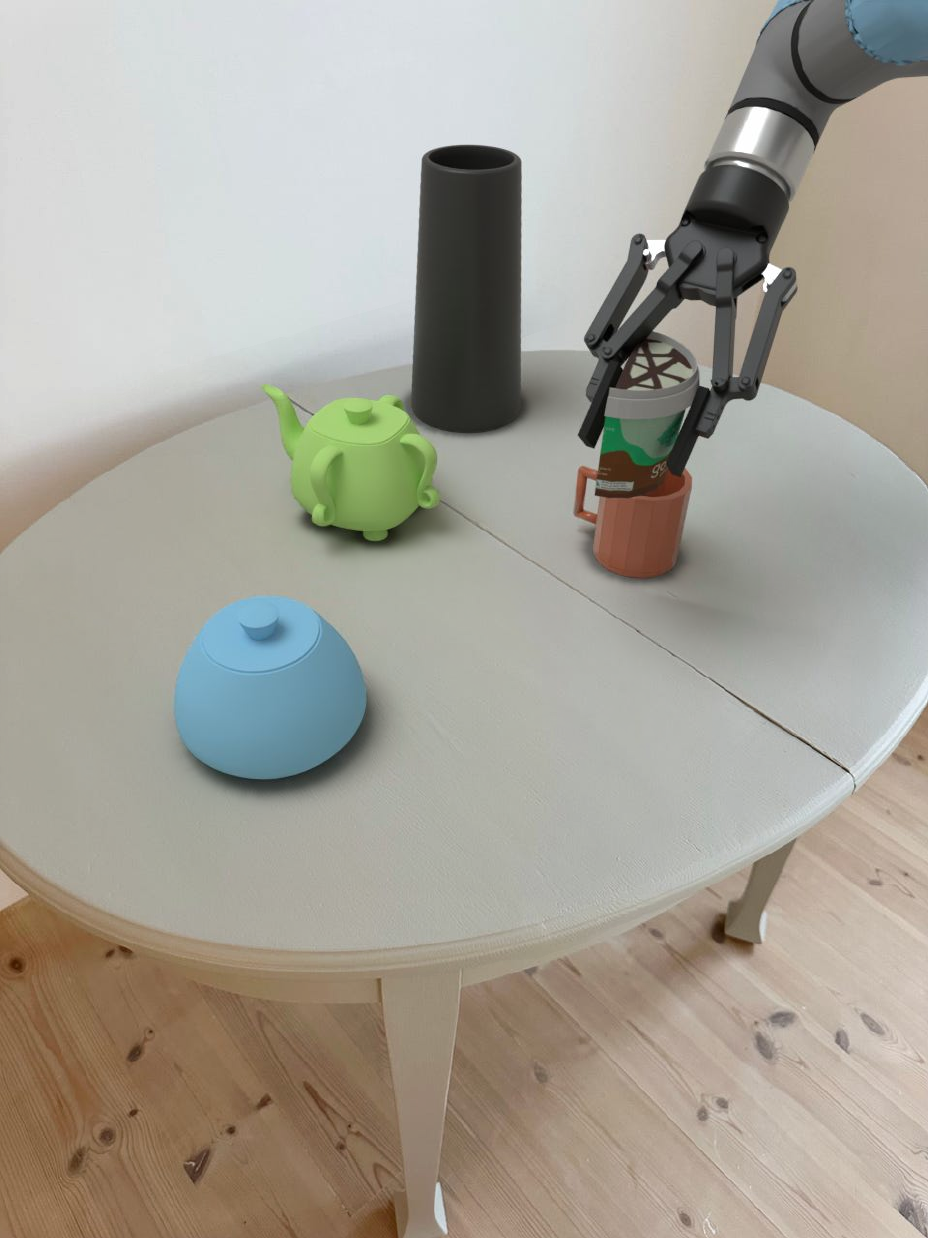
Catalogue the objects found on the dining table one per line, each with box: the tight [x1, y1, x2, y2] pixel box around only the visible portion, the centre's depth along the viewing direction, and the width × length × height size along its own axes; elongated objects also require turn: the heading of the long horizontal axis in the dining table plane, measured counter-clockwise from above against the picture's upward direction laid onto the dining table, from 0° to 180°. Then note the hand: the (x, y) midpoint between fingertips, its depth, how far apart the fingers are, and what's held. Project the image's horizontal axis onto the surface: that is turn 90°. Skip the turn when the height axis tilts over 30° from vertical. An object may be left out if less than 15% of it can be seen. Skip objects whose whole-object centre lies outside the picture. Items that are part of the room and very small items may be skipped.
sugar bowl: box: [173, 595, 367, 780], centre depth 74 cm, size 15×15×12 cm
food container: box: [593, 330, 701, 498], centre depth 77 cm, size 12×6×10 cm, turn 161°
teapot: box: [260, 384, 441, 542], centre depth 97 cm, size 16×14×13 cm
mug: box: [572, 465, 693, 579], centre depth 94 cm, size 11×8×9 cm
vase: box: [410, 144, 523, 433], centre depth 110 cm, size 14×14×29 cm
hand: (628, 455), depth 75 cm, fingers closed on food container, 7 cm apart
